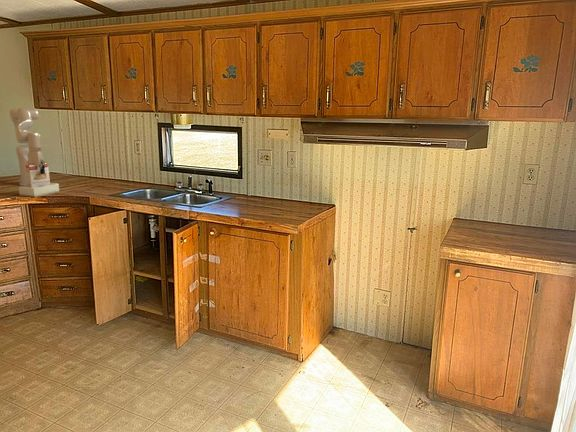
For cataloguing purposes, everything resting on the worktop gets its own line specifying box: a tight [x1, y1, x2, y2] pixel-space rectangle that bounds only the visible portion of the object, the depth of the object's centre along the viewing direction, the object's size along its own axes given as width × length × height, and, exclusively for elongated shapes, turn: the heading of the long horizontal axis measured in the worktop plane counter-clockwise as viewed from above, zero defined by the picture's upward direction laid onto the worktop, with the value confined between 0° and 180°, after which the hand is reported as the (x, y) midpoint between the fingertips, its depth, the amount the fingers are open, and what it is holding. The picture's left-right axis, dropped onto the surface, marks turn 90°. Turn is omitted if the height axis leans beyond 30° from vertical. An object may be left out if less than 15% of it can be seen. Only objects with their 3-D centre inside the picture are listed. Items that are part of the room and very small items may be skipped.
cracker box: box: [25, 162, 51, 188], centre depth 317 cm, size 14×6×21 cm, turn 148°
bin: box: [18, 182, 60, 198], centre depth 319 cm, size 14×22×6 cm, turn 162°
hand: (37, 173), depth 316 cm, fingers open, 9 cm apart
